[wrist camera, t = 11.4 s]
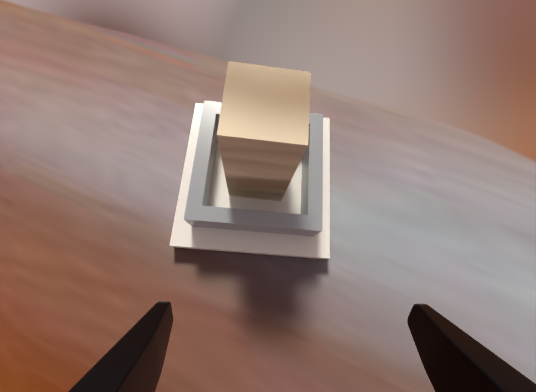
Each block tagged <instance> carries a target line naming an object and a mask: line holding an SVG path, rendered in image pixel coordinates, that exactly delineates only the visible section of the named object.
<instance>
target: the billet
mask: <svg viewBox="0 0 536 392" xmlns="http://www.w3.org/2000/svg"><path fill="white" fill-rule="evenodd" d="M310 81H311V72H306V71H299V70H291V69H284V68H276V67H268V66H261V65H253V64H246V63H238V62H231V61H228V67H227V73H226V79H225V86H224V92H223V98H222V105H221V111H220V117H219V123H218V130H217V139H218V144H219V149H220V154H221V159H222V164H223V169H224V173H225V178H226V183H227V188H228V193H229V196H232V197H242V198H252V199H262V200H272V201H281V200H282V198H283V196H284V194H285V192H286V190H287V188H288V186H289V184H290V182H291V180H292V178H293V176H294V173H295V171H296V169H297V167H298V165H299V163H300V161H301V159H302V157H303V155H304V153H305V151H306V149H307V147H308V137H309V110H310Z"/></svg>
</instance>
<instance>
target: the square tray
mask: <svg viewBox="0 0 536 392" xmlns="http://www.w3.org/2000/svg"><path fill="white" fill-rule="evenodd" d="M221 105H222V103H221V102H213V101H204V104H200V103H196V105H195V110H194V116H193V121H192V126H191V132H190V137H189V143H188V148H187V154H186V159H185V164H184V170H183V175H182V181H181V186H180V192H179V197H178V202H177V208H176V213H175V219H174V224H173V230H172V235H171V240H170V246H172V247H176V248H188V249H201V250H214V251H226V252H239V253H251V254H264V255H277V256H289V257H302V258H315V259H329V258H330V132H329V118H323V114H318V113H309V137H308V147H307V149H306V151H305V153H304V155H303V157H302V159H301V161H300V163H299V165H298V167H297V169H296V171H295V173H294V176H293V178H292V180H291V182H290V184H289V186H288V188H287V190H286V192H285V194H284V196H283V198H282V200H281V201H272V200H262V199H252V198H242V197H232V196H229V193H228V188H227V183H226V178H225V173H224V169H223V164H222V159H221V154H220V149H219V144H218V139H217V130H218V123H219V117H220V111H221Z"/></svg>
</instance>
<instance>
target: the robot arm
mask: <svg viewBox="0 0 536 392" xmlns="http://www.w3.org/2000/svg"><path fill="white" fill-rule="evenodd" d="M172 324H173V314H172V308H171V303H170V302H164V301H160V302H158V303H156V304H155V305H154V306H153V307H152V308H151V309H150V310H149V311H148V312H147V313H146V314H145V315H144V316H143V317H142V318H141V319H140V320H139V321H138V322H137V323H136V324H135V325H134V326H133V327H132V328H131V329H130V330H129V331H128V332H127V333H126V334H125V335H124V336H123V337H122V338H121V339H120V340H119V341H118V342H117V343H116V344H115V345H114V346H113V347H112V348H111V349H110V350H109V351H108V352H107V353H106V354H105V355H104V356H103V357H102V358H101V359H100V360H99V361H98V362H97V363H96V364H95V365H94V366H93V367H92V368H91V369H90V370H89V371H88V372H87V373H86V374H85V375H84V376H83V377H82V378H81V379H80V380H79V381H78V382H77V383H76V384H75V385H74V386H73V387H72V388H71V389H70V390H69V391H68V392H155V390H156V387H157V384H158V381H159V378H160V374H161V371H162V367H163V363H164V359H165V354H166V350H167V346H168V341H169V337H170V333H171V328H172ZM408 326H409V329H410V331H411V334H412V337H413V339H414V342H415V345H416V347H417V350H418V353H419V355H420V358H421V361H422V363H423V366H424V368H425V370H426V373H427V375H428V377H429V379H430V381H431V383H432V385H433V387H434V390H435V392H536V384H535V383H534V382H532V381H531V380H529V379H528V378H527V377H525V376H524V375H523V374H521V373H520V372H519V371H517V370H516V369H514V368H513V367H512V366H510V365H509V364H508V363H506V362H505V361H503V360H502V359H501V358H499V357H498V356H497V355H495V354H494V353H493V352H491V351H490V350H488V349H487V348H486V347H484V346H483V345H482V344H480V343H479V342H478V341H476V340H475V339H473V338H472V337H471V336H469V335H468V334H467V333H465V332H464V331H462V330H461V329H460V328H458V327H457V326H456V325H454V324H453V323H452V322H450V321H449V320H447V319H446V318H445V317H443V316H442V315H441V314H439V313H438V312H437V311H435V310H434V309H432V308H431V307H430V306H428V305H426V304H414V305H413V307H412V309H411V312H410V314H409V316H408Z"/></svg>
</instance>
